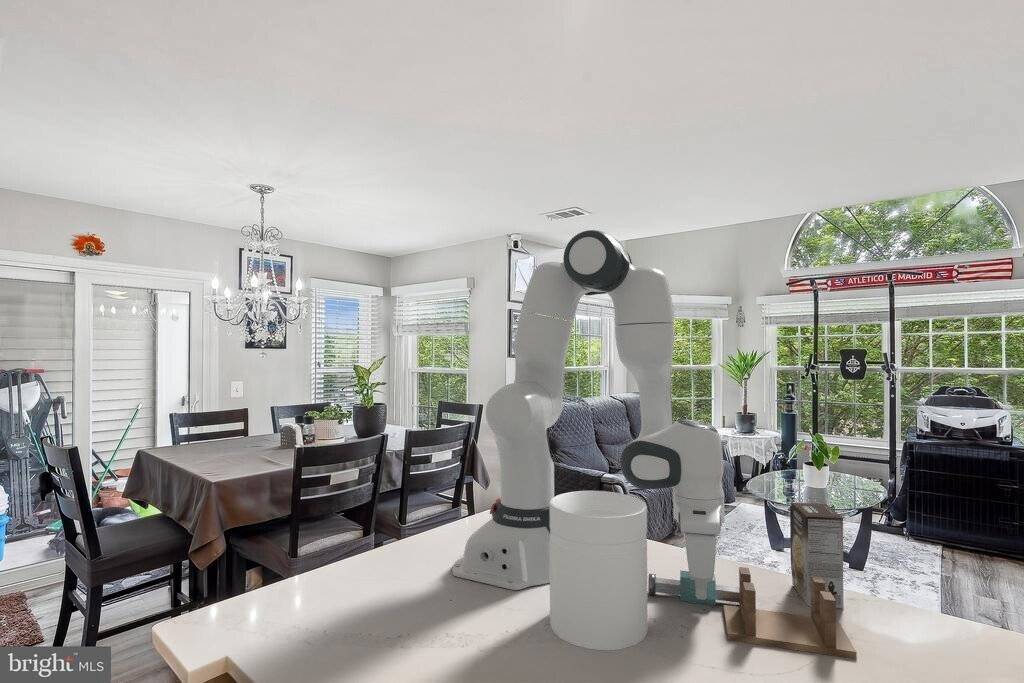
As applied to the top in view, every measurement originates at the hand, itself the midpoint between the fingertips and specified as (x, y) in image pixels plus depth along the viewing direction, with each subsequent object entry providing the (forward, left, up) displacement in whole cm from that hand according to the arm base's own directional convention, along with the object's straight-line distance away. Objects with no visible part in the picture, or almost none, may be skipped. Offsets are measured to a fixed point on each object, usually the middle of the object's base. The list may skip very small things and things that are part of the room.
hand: (700, 586), depth 99 cm
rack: (+12, -8, -3) cm, 15 cm away
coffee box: (+20, +8, -3) cm, 22 cm away
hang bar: (-1, 0, -3) cm, 3 cm away
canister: (-17, -14, -3) cm, 22 cm away
